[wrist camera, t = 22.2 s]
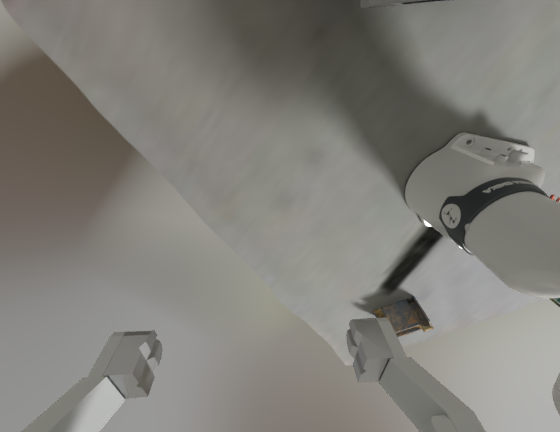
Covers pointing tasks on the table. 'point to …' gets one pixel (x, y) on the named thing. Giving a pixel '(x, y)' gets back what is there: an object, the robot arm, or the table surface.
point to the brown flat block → (405, 317)
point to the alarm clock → (393, 2)
